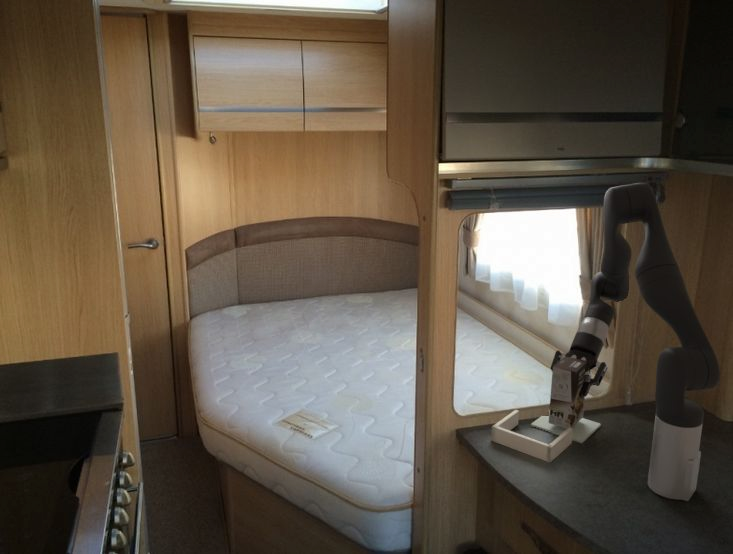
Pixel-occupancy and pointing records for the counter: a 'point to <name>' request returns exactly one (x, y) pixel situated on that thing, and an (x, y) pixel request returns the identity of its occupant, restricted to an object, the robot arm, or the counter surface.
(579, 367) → the coffee box
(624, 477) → the counter surface
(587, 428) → the mat
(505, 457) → the counter surface
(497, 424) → the u-shaped box cradle
